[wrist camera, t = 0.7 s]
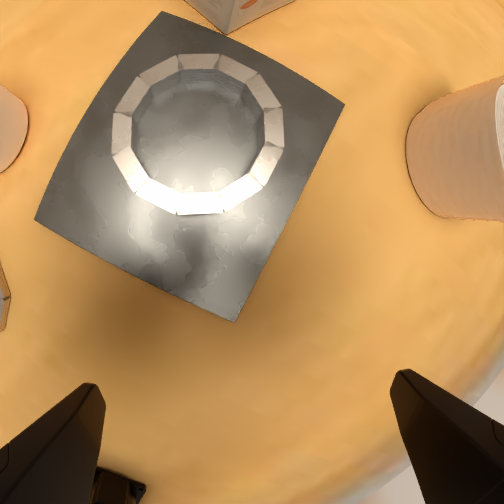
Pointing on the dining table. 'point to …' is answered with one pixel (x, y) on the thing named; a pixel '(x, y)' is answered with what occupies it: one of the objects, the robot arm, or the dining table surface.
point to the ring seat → (190, 163)
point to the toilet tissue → (460, 153)
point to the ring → (3, 300)
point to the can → (11, 127)
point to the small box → (234, 11)
